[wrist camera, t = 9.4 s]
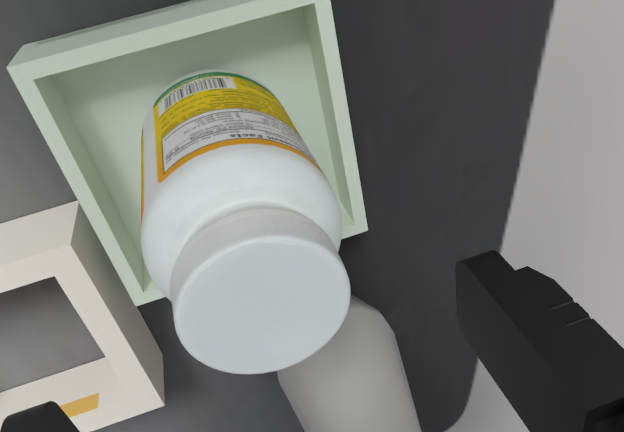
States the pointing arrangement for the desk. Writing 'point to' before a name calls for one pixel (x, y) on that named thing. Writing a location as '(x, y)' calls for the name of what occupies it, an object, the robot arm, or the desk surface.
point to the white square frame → (95, 314)
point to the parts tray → (160, 73)
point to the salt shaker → (353, 379)
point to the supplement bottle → (239, 225)
